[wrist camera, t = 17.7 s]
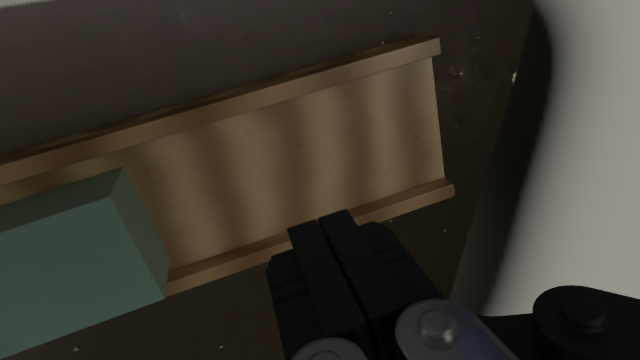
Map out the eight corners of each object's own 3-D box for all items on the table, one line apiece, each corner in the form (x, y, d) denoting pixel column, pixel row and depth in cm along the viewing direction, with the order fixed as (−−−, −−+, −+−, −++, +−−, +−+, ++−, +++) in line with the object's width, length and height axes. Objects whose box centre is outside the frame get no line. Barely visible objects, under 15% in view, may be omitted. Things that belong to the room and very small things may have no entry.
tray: (21, 325, 33) (5, 353, 30) (-86, 180, 27) (-118, 199, 24) (437, 182, 38) (455, 196, 35) (419, 34, 32) (439, 37, 29)
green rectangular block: (23, 310, 31) (-7, 362, 26) (-45, 220, 27) (-93, 263, 23) (170, 257, 32) (165, 299, 28) (123, 165, 29) (109, 196, 24)
